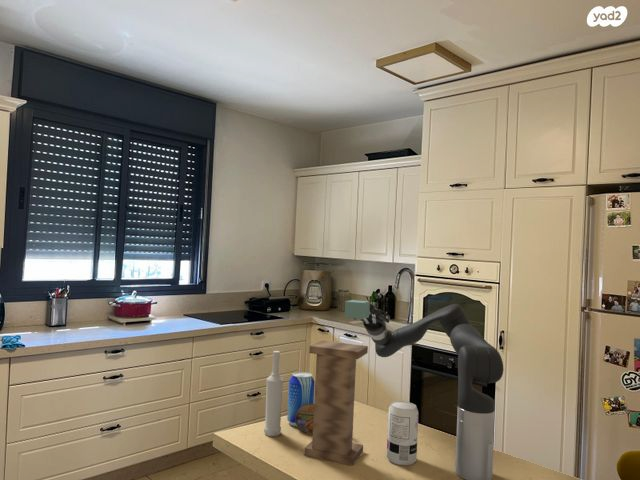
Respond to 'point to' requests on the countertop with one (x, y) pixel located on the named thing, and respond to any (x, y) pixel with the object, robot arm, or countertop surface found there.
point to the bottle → (274, 399)
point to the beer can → (299, 393)
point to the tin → (305, 418)
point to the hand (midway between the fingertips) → (365, 305)
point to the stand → (335, 402)
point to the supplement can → (402, 433)
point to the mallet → (357, 309)
